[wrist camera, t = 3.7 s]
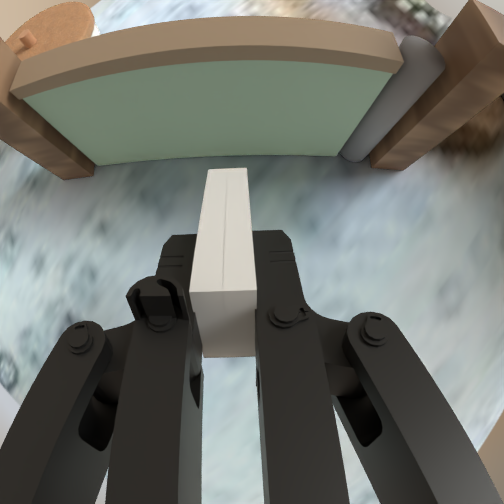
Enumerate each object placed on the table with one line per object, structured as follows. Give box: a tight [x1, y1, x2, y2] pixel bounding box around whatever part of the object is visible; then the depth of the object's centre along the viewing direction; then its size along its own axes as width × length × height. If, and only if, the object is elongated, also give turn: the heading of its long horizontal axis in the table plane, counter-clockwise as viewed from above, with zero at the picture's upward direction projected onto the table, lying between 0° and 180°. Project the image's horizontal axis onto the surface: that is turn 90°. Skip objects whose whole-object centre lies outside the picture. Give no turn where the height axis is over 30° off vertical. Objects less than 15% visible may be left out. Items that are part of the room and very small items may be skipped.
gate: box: [10, 16, 445, 166], centre depth 16 cm, size 21×2×12 cm, turn 92°
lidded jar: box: [5, 2, 101, 61], centre depth 18 cm, size 11×11×9 cm
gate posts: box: [0, 0, 504, 180], centre depth 15 cm, size 28×3×16 cm, turn 92°
